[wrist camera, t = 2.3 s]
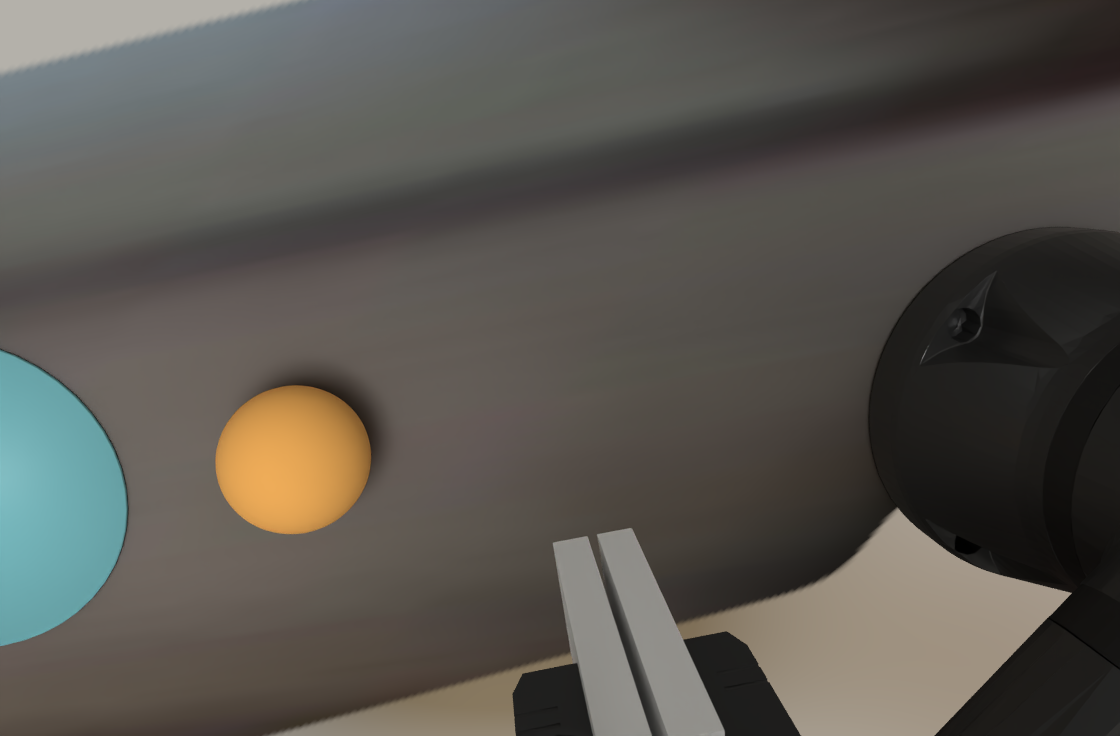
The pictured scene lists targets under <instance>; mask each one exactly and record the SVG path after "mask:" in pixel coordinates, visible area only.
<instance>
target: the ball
mask: <svg viewBox="0 0 1120 736" xmlns="http://www.w3.org/2000/svg"><path fill="white" fill-rule="evenodd" d="M370 465H371V448H370V442H369V439H368V435H367V432H366V430H365V427H364V425H363V423H362V422H361V420H360V418H359V417H358V415H357V414H356V413H355V412H354V411H353V409H352V408H351V407H349V406H348V405H347V404H346V403H345V402H344V401H342V400H341V399H340V398H338V397H336V396H335V395H333V394H331V393H329V392H326V391H324V390H321V389H318V388H314V387H309V386H298V385H292V386H283V387H279V388H274V389H271V390H268V391H265V392H263V393H261V394H259V395H257V396H255V397H253V398H252V399H250V400H249V401H248V402H246V403H245V404H243V405H242V406H241V407H240V408H239V409H238V410H237V411H236V412H235V413H234V415H233V416H232V417H231V418H230V420H229V421H228V422H227V424H226V426H225V428H224V429H223V431H222V434H221V436H220V439H219V442H218V447H217V451H216V473H217V478H218V483H219V485H220V488H221V491H222V493H223V495H224V497H225V498H226V500H227V501H228V503H229V504H230V506H231V507H232V508H233V509H234V510H235V511H236V512H237V513H238V514H239V515H240V516H241V517H242V518H244V519H245V520H247V521H248V522H249V523H251V524H253V525H255V526H257V527H259V528H262V529H264V530H267V531H271V532H275V533H283V534H300V533H307V532H311V531H314V530H317V529H320V528H322V527H325V526H327V525H329V524H331V523H333V522H334V521H336V520H337V519H339V518H340V517H341V516H343V515H344V514H345V513H346V512H347V511H348V510H349V509H350V508H351V507H352V506H353V505H354V503H355V502H356V501H357V500H358V498H359V496H360V495H361V493H362V491H363V489H364V487H365V485H366V483H367V480H368V476H369V472H370Z"/></svg>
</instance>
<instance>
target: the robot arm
mask: <svg viewBox="0 0 1120 736" xmlns="http://www.w3.org/2000/svg"><path fill="white" fill-rule="evenodd" d="M870 437H871V445H872V450H873V455H874V459H875V463H876V466H877V469H878V472H879V475H880V477H881V480H882V482H883V484H884V486H885V488H886V490H887V492H888V493H889V495H890V497H891V498H892V500H893V501H894V503H895V504H896V506H897V507H898V508H899V509H900V511H901V512H902V513H903V514H904V515H905V516H906V517H907V518H908V519H909V521H910V522H912V523H913V524H914V525H915V526H916V527H917V528H918V529H920V530H921V531H922V532H924V533H925V534H926V535H927V536H929V537H930V538H931V539H933V540H934V541H935V542H936V543H938V544H939V545H941V546H942V547H943V548H944V549H946V550H947V551H949V552H950V553H951V554H953V555H955V556H956V557H958V558H960V559H962V560H964V561H966V562H968V563H970V564H972V565H974V566H976V567H978V568H981V569H983V570H986V571H989V572H992V573H996V574H999V575H1003V576H1007V577H1011V578H1015V579H1019V580H1023V581H1027V582H1031V583H1035V584H1039V585H1043V586H1047V587H1050V588H1054V589H1058V590H1062V591H1066V592H1070V593H1072V594H1071V595H1070V596H1069V597H1068V598H1067V599H1066V600H1065V601H1064V602H1063V603H1062V604H1061V605H1060V606H1059V607H1058V608H1057V610H1056V611H1055V612H1054V613H1053V614H1052V615H1051V616H1049V617H1048V618H1047V619H1046V620H1045V621H1044V622H1043V624H1041V625H1040V627H1038V629H1037V630H1036V631H1035V632H1034V633H1033V634H1032V635H1031V636H1030V637H1029V638H1028V639H1027V640H1026V641H1025V642H1024V643H1023V644H1022V645H1021V646H1020V647H1019V648H1018V649H1017V650H1016V652H1014V653H1013V655H1012V656H1011V657H1010V658H1009V659H1008V660H1007V661H1006V662H1005V663H1004V664H1003V665H1002V666H1001V667H1000V668H999V669H998V670H997V671H996V672H995V673H994V674H993V675H992V676H991V678H989V680H988V681H987V682H986V683H985V684H984V685H983V686H982V687H981V688H980V689H979V690H978V691H977V692H976V693H975V694H974V695H973V696H972V697H971V699H969V700H968V701H967V702H966V703H965V704H964V706H963V707H962V708H961V709H960V710H959V711H958V712H957V713H956V714H955V715H954V716H953V717H952V718H951V719H950V720H949V721H948V722H947V723H946V724H945V725H944V726H943V727H942V728H941V729H940V731H939V732H938V733H937V734H936V735H935V736H1120V233H1119V232H1113V231H1105V230H1094V229H1081V228H1068V227H1049V228H1038V229H1031V230H1026V231H1021V232H1017V233H1014V234H1010V235H1007V236H1004V237H1001V238H999V239H996V240H993V241H991V242H989V243H987V244H984V245H982V246H980V247H978V248H977V249H975V250H973V251H971V252H969V253H968V254H966V255H965V256H963V257H961V258H960V259H958V260H957V261H955V262H954V263H953V264H951V265H950V266H949V267H947V268H946V269H945V270H944V271H942V272H941V273H940V274H939V275H938V276H937V277H936V278H934V279H933V280H932V281H931V282H930V283H929V284H928V285H927V286H926V287H925V288H924V289H923V291H922V292H921V293H920V294H919V295H918V296H917V297H916V299H915V300H914V301H913V302H912V304H911V305H910V306H909V307H908V309H907V310H906V312H905V313H904V315H903V316H902V317H901V319H900V321H899V322H898V324H897V326H896V327H895V329H894V331H893V333H892V335H891V337H890V338H889V340H888V342H887V345H886V347H885V349H884V352H883V354H882V357H881V360H880V362H879V365H878V368H877V372H876V376H875V379H874V384H873V389H872V395H871V403H870ZM597 537H598V543H599V550H600V556H601V563H602V570H603V576H604V583H605V589H606V592H605V589H604V586H603V583H602V580H601V577H600V574H599V570H598V567H597V564H596V561H595V558H594V555H593V552H592V549H591V546H590V543H589V540H588V536H585V537H580V538H575V539H569V540H564V541H559V542H553V548H554V554H555V560H556V566H557V572H558V578H559V584H560V590H561V596H562V602H563V608H564V614H565V620H566V626H567V632H568V638H569V644H570V650H571V656H572V660H573V664H569V665H564V666H559V667H554V668H549V669H544V670H539V671H534V672H529V673H524V674H522V677H521V678H520V680H519V682H518V684H517V686H516V688H515V690H514V692H513V705H514V716H515V731H516V736H801V735H800V734H799V732H798V730H797V728H796V727H795V725H794V723H793V722H792V720H791V718H790V717H789V715H788V713H787V712H786V710H785V708H784V707H783V705H782V703H781V701H780V700H779V698H778V696H777V695H776V693H775V692H774V690H773V688H772V686H771V685H770V683H769V682H768V681H767V678H766V676H765V674H764V673H763V671H762V669H761V668H760V667H759V666H758V663H757V661H756V659H755V658H754V656H753V654H752V652H751V651H750V649H749V647H748V646H747V645H746V644H745V643H743V642H741V641H740V640H739V639H737V638H736V637H734V636H733V635H731V634H730V633H728V632H721V633H716V634H711V635H706V636H700V637H695V638H690V639H685V640H683V639H682V637H681V634H680V632H679V630H678V628H677V626H676V623H675V621H674V619H673V617H672V615H671V613H670V610H669V608H668V606H667V604H666V602H665V599H664V597H663V595H662V593H661V591H660V589H659V586H658V584H657V582H656V580H655V578H654V576H653V573H652V571H651V569H650V567H649V565H648V562H647V560H646V558H645V556H644V554H643V552H642V549H641V547H640V545H639V543H638V541H637V538H636V536H635V534H634V532H633V530H632V528H628V529H623V530H617V531H612V532H607V533H601V534H597Z"/></svg>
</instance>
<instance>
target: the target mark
mask: <svg viewBox="0 0 1120 736" xmlns="http://www.w3.org/2000/svg"><path fill="white" fill-rule="evenodd" d="M127 517H128V501H127V489H126V484H125V480H124V475H123V471H122V468H121V465H120V462H119V460H118V457H117V454H116V452H115V449H114V447H113V445H112V444H111V442H110V440H109V438H108V436H107V434H106V432H105V431H104V429H103V428H102V426H101V425H100V424H99V422H98V421H97V419H96V418H95V417H94V415H93V414H92V412H91V411H90V410H89V409H88V408H87V407H86V406H85V405H84V404H83V403H82V402H81V401H80V399H79V398H78V397H77V396H76V395H75V394H74V393H72V392H71V391H70V390H69V389H68V388H67V387H65V386H64V385H63V384H62V383H61V382H60V381H58V380H57V379H55V378H54V377H52V376H51V375H49V374H48V373H46V372H45V371H44V370H42V369H41V368H39V367H37V366H35V365H34V364H32V363H30V362H28V361H26V360H24V359H22V358H20V357H18V356H16V355H13V354H11V353H8V352H6V351H3V350H0V646H3V645H7V644H11V643H15V642H19V641H23V640H26V639H29V638H31V637H34V636H37V635H39V634H42V633H44V632H46V631H48V630H50V629H52V628H54V627H56V626H57V625H59V624H61V623H63V622H64V621H65V620H67V619H68V618H70V617H71V616H72V615H74V614H75V613H77V612H78V611H79V610H80V609H81V608H82V607H83V606H84V605H85V604H86V603H88V602H89V601H90V600H91V599H92V598H93V597H94V595H95V594H96V593H97V592H98V590H99V589H100V588H101V587H102V585H103V584H104V583H105V582H106V580H107V578H108V577H109V575H110V573H111V572H112V570H113V568H114V566H115V565H116V562H117V560H118V557H119V554H120V552H121V549H122V547H123V542H124V538H125V533H126V529H127Z"/></svg>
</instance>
